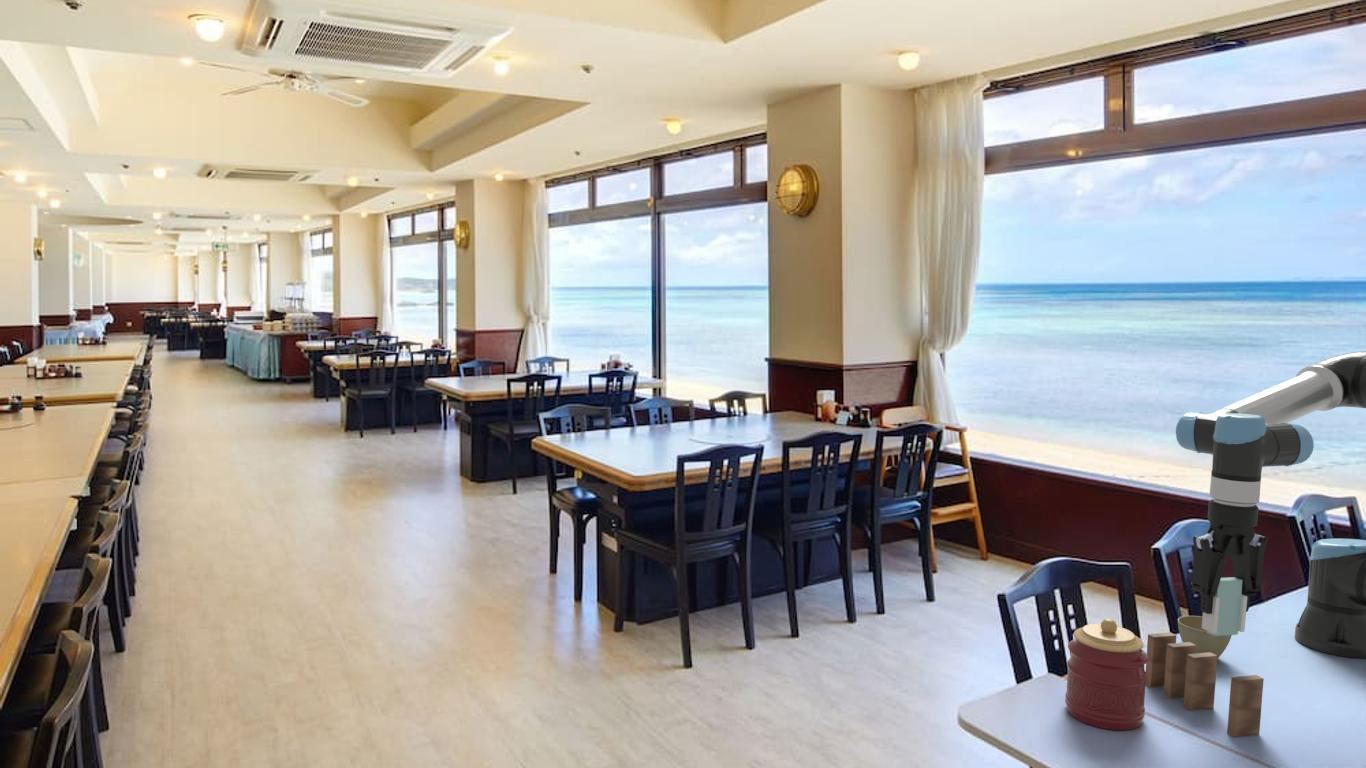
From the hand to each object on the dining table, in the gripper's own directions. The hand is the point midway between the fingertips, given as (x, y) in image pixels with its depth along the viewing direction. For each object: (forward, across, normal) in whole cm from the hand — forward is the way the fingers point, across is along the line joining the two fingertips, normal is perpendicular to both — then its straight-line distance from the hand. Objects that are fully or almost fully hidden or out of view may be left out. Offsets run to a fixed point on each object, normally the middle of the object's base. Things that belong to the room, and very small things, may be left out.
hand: (1222, 629), depth 161 cm
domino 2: (+16, +1, -8) cm, 18 cm away
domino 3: (+16, +1, -3) cm, 16 cm away
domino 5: (+16, +1, +7) cm, 17 cm away
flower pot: (+16, -18, -23) cm, 33 cm away
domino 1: (+16, +1, -13) cm, 20 cm away
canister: (+16, +20, -4) cm, 26 cm away
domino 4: (+1, 0, 0) cm, 1 cm away
